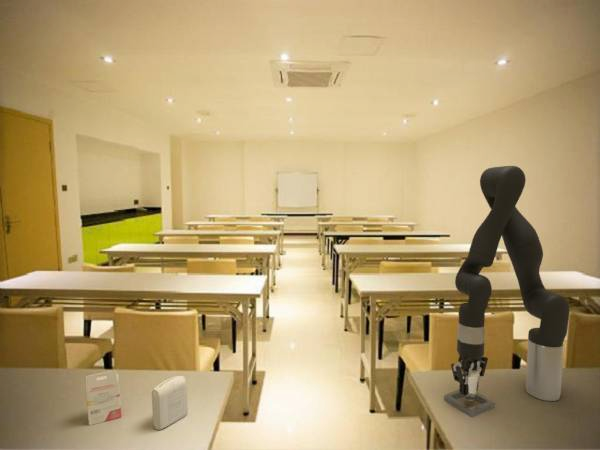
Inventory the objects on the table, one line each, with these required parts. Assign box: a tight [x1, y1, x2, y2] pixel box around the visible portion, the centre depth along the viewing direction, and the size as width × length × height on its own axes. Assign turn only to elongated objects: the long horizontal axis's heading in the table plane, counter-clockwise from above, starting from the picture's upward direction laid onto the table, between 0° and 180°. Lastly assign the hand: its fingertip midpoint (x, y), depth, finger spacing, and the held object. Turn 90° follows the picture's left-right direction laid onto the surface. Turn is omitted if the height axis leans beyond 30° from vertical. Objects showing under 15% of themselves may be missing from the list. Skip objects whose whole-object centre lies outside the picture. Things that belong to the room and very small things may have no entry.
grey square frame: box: [443, 389, 495, 418], centre depth 115 cm, size 10×10×2 cm
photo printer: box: [151, 375, 189, 431], centre depth 109 cm, size 10×4×12 cm, turn 144°
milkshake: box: [462, 370, 479, 402], centre depth 115 cm, size 5×5×10 cm
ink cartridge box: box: [84, 369, 122, 426], centre depth 110 cm, size 9×5×15 cm, turn 115°
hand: (468, 392), depth 115 cm, fingers closed on milkshake, 4 cm apart
